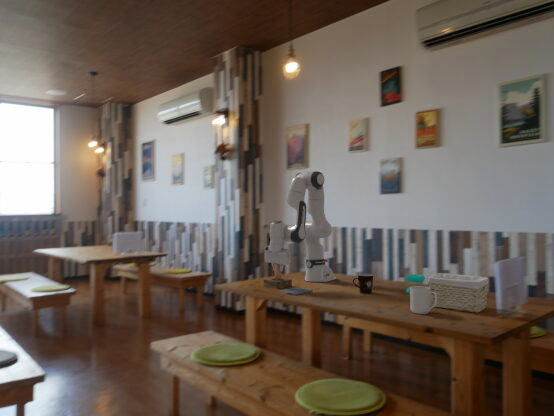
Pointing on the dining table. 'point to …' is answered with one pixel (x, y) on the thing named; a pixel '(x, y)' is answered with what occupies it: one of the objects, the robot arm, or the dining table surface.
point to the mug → (421, 299)
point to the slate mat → (296, 291)
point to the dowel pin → (277, 272)
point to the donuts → (414, 280)
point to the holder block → (277, 283)
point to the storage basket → (459, 291)
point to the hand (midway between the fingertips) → (277, 270)
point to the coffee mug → (365, 283)
